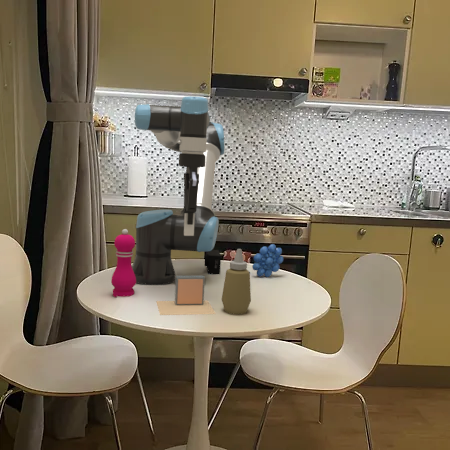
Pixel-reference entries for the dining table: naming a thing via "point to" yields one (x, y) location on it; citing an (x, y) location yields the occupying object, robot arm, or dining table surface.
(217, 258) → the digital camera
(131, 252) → the pepper mill
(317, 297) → the dining table surface
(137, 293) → the dining table surface
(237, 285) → the squeeze bottle
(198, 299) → the tile
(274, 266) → the grapes
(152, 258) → the robot arm
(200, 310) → the mat
